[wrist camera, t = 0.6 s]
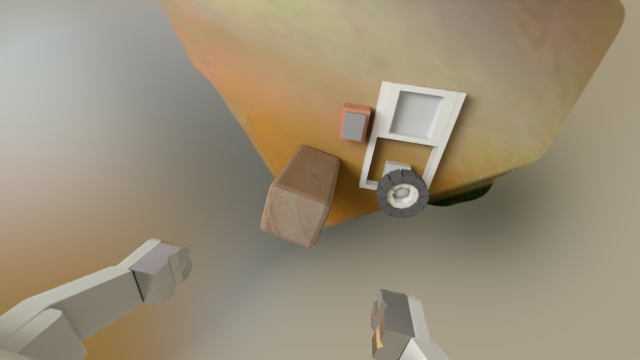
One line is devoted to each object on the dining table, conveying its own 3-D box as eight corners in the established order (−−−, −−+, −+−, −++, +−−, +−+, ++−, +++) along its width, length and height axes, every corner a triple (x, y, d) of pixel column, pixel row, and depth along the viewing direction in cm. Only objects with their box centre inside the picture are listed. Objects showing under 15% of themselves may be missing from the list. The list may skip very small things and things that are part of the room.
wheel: (383, 165, 42) (384, 171, 40) (431, 173, 42) (436, 180, 39) (372, 204, 46) (372, 212, 44) (416, 213, 46) (419, 221, 43)
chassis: (382, 80, 43) (387, 84, 35) (461, 91, 42) (484, 98, 34) (359, 182, 54) (358, 202, 46) (421, 193, 52) (432, 216, 45)
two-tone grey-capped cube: (344, 102, 46) (342, 108, 41) (369, 106, 46) (370, 112, 40) (340, 131, 49) (337, 140, 44) (363, 135, 49) (363, 144, 43)
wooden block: (342, 157, 52) (332, 207, 34) (327, 193, 56) (312, 252, 39) (300, 142, 52) (269, 183, 34) (289, 179, 56) (257, 232, 39)
